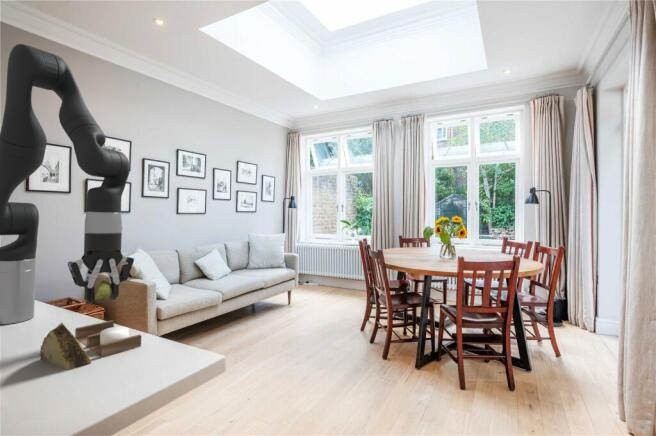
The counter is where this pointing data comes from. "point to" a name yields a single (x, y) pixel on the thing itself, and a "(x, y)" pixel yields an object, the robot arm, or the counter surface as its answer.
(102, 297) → the lime
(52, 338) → the rock
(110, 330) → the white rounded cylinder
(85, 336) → the rack
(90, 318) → the counter surface
